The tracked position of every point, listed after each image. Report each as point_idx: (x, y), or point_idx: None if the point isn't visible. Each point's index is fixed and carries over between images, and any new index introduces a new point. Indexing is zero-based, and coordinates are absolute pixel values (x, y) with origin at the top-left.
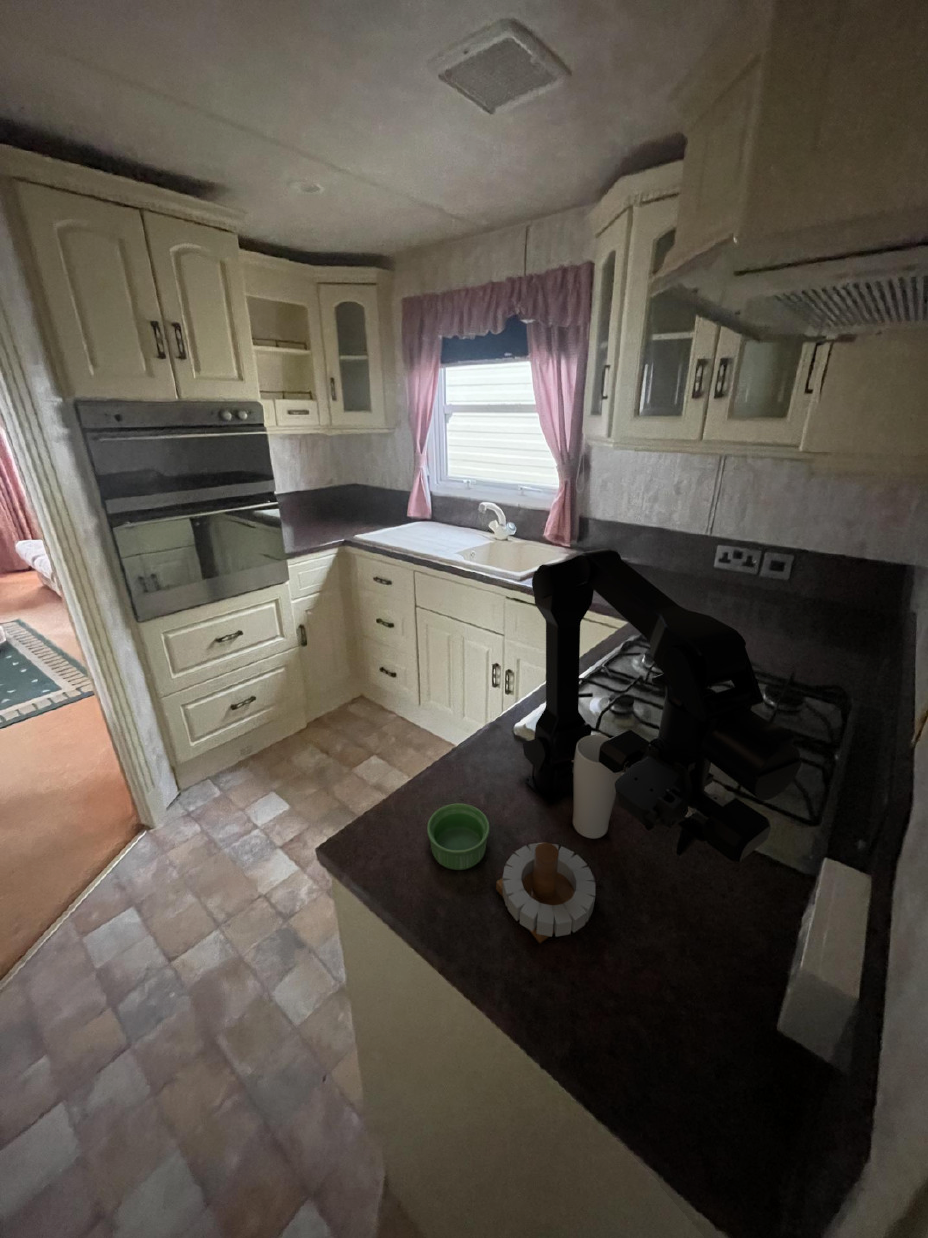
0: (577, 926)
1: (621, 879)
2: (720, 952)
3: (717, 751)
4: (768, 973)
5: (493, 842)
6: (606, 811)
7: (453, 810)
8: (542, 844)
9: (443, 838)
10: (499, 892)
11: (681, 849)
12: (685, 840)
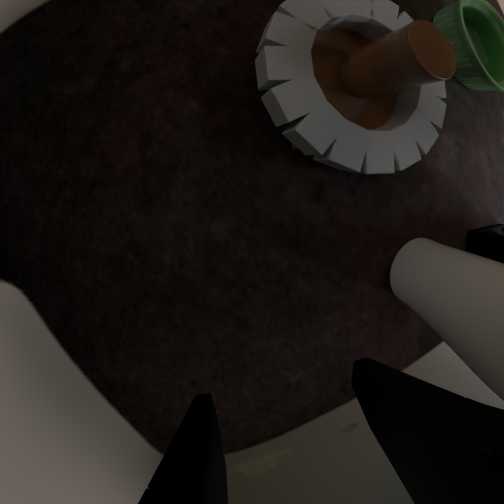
0: (258, 63)
1: (307, 247)
2: (112, 308)
3: None
4: (69, 343)
5: (456, 95)
6: (432, 301)
7: None
8: (452, 60)
9: (476, 42)
10: None
11: (185, 430)
12: (159, 501)
